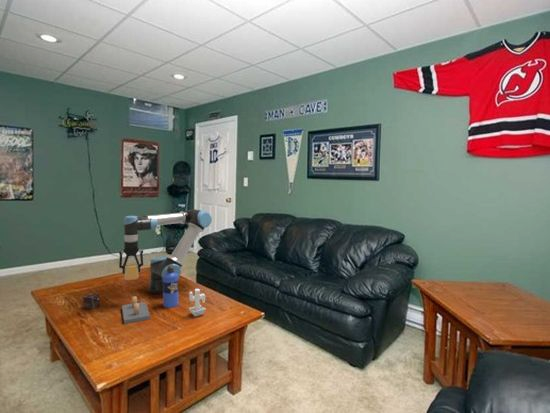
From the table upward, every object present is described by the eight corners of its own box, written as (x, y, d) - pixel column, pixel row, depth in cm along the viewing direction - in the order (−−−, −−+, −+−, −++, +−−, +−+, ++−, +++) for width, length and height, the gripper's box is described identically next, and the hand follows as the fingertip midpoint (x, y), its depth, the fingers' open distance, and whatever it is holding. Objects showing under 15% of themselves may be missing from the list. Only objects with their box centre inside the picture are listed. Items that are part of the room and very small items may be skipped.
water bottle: (181, 304, 190) (181, 265, 188) (167, 309, 184) (167, 268, 182) (173, 300, 197) (173, 262, 195) (160, 304, 190) (159, 265, 188)
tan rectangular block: (136, 276, 192) (136, 263, 192) (137, 279, 187) (137, 266, 186) (126, 277, 189) (125, 264, 189) (126, 280, 184) (126, 267, 184)
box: (91, 309, 181) (91, 297, 180) (83, 308, 182) (82, 296, 181) (99, 305, 187) (99, 294, 186) (91, 304, 188) (90, 293, 187)
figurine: (207, 314, 178) (207, 289, 176) (192, 318, 172) (192, 292, 170) (202, 310, 183) (202, 286, 182) (187, 314, 177) (187, 289, 176)
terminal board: (145, 304, 189) (145, 292, 189) (150, 319, 170) (149, 305, 170) (122, 308, 183) (121, 295, 182) (124, 323, 164) (123, 309, 163)
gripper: (147, 239, 194) (147, 274, 196) (113, 241, 185) (114, 278, 187) (148, 241, 188) (148, 277, 189) (113, 243, 179) (114, 281, 180)
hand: (131, 277), depth 188 cm, fingers closed on tan rectangular block, 6 cm apart
